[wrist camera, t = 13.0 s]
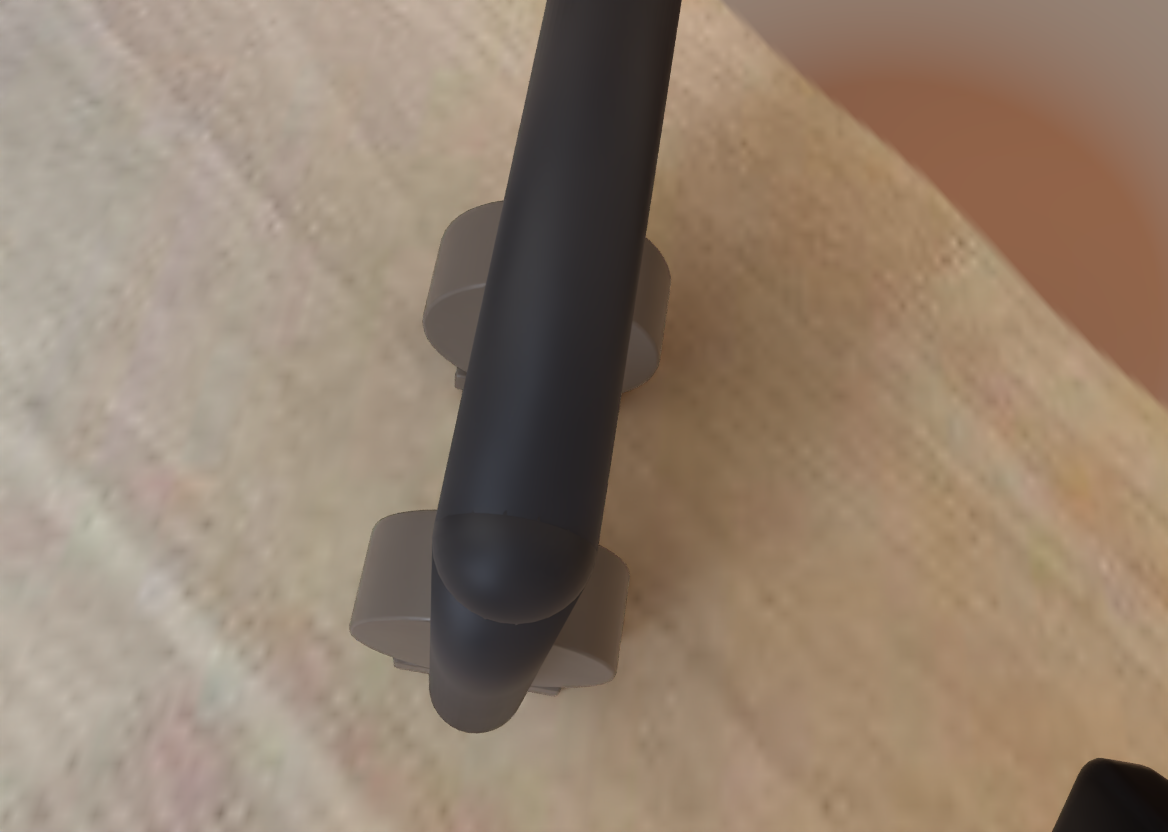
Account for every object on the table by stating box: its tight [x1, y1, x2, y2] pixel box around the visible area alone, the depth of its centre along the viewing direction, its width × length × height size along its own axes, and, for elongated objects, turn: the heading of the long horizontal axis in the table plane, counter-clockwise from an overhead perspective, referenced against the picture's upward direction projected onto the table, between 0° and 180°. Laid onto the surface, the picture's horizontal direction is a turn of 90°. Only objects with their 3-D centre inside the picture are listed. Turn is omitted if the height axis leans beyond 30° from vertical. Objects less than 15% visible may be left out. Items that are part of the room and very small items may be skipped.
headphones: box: [349, 0, 682, 733], centre depth 15 cm, size 9×4×11 cm, turn 171°
